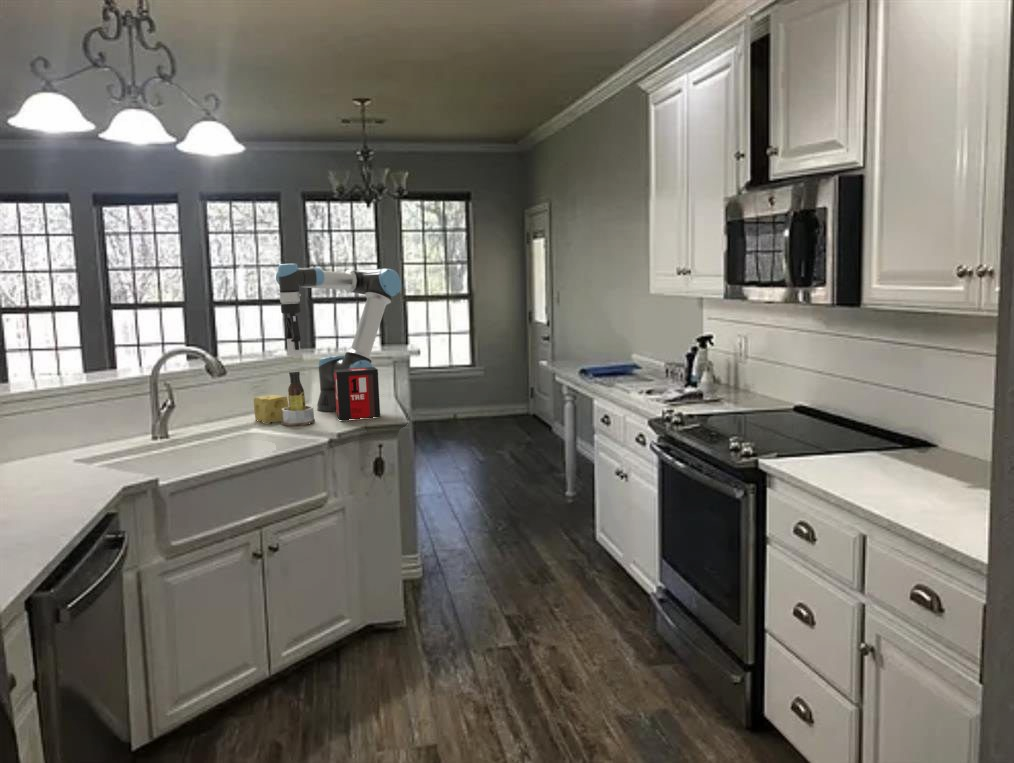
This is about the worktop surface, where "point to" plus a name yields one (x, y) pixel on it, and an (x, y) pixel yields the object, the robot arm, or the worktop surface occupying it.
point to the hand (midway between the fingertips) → (294, 356)
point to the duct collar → (297, 415)
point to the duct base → (297, 423)
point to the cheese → (269, 408)
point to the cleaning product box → (357, 393)
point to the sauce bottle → (296, 392)
